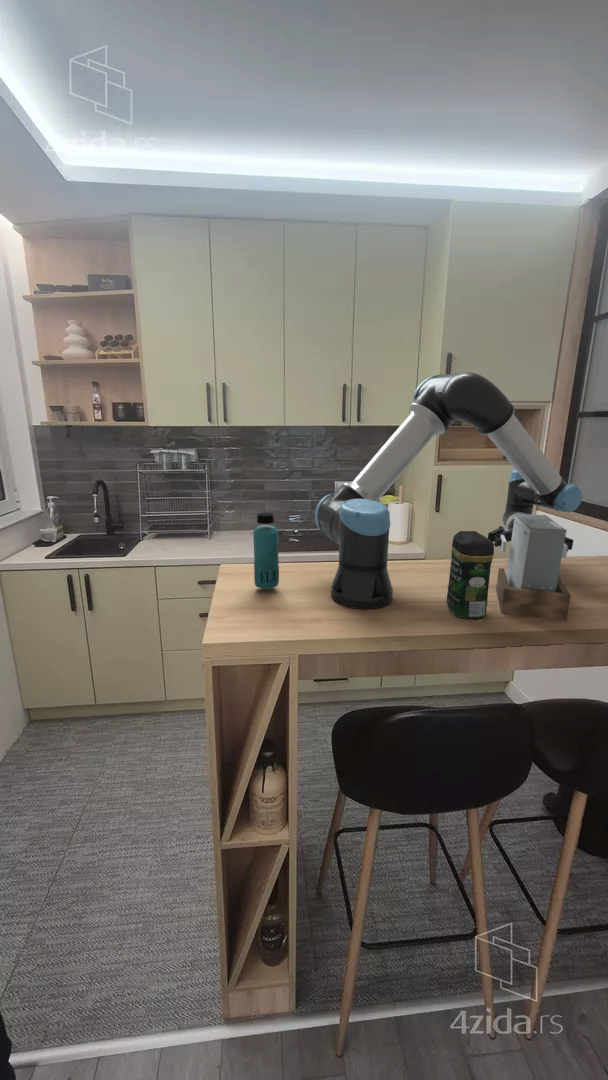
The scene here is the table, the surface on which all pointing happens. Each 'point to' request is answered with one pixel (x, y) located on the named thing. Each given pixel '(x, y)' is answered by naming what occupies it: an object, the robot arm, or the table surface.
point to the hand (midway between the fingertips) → (534, 549)
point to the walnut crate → (532, 600)
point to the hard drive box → (535, 553)
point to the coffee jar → (469, 574)
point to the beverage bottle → (266, 553)
